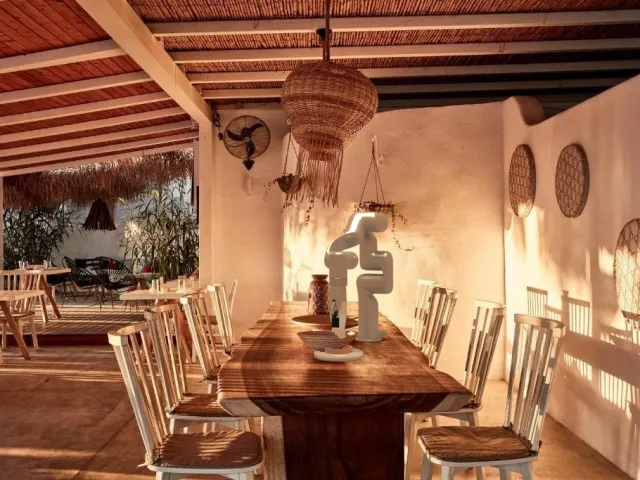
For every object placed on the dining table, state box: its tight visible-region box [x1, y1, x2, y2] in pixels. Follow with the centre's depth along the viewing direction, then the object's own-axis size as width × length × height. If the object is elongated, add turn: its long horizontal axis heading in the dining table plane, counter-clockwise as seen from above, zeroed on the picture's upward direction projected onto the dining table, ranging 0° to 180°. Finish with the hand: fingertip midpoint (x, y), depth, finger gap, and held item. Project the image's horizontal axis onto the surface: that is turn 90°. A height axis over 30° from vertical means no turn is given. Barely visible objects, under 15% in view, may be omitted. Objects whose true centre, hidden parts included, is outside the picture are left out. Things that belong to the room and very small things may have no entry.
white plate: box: [313, 344, 364, 362], centre depth 246 cm, size 20×20×4 cm
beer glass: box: [329, 300, 348, 340], centre depth 246 cm, size 7×7×15 cm
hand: (338, 326), depth 246 cm, fingers closed on beer glass, 6 cm apart
